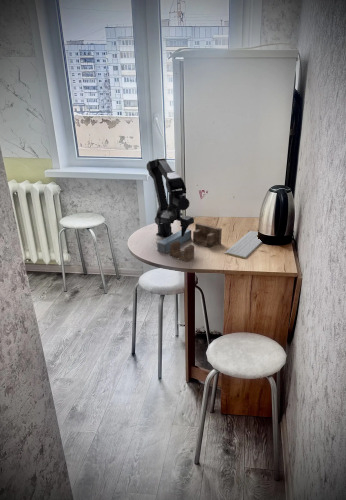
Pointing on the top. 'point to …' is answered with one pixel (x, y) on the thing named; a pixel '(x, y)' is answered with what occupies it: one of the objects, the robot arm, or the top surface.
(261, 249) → the top surface
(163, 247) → the bed rail
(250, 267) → the top surface
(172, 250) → the headboard posts
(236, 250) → the baseboard molding
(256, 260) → the top surface
